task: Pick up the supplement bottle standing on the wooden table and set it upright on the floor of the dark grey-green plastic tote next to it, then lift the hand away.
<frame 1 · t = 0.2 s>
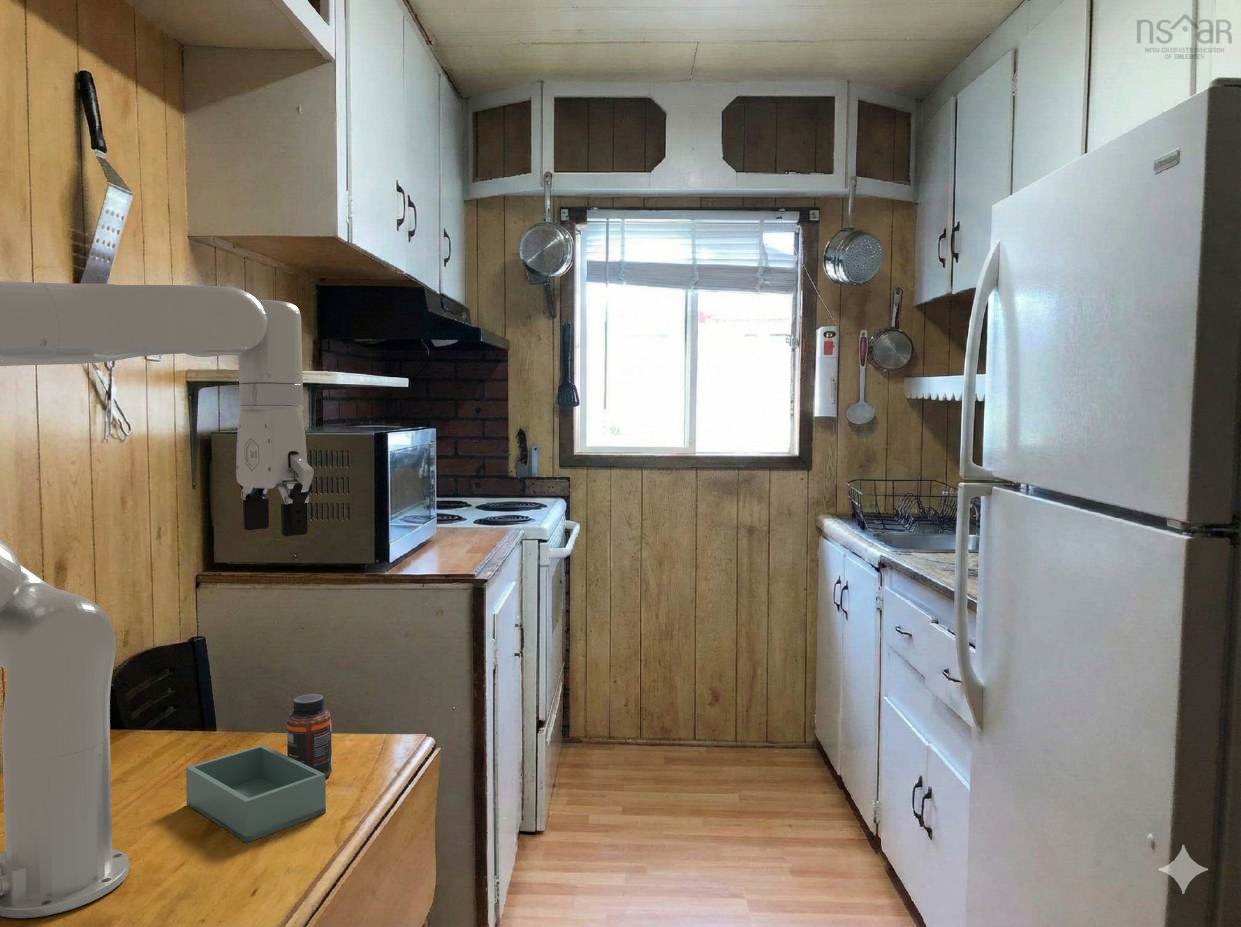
hand: (275, 532, 108), 36 cm above the table, tool pointing down, fingers open, 9 cm apart
tote: (255, 808, 108), on the table
supplement bottle: (310, 778, 119), on the table
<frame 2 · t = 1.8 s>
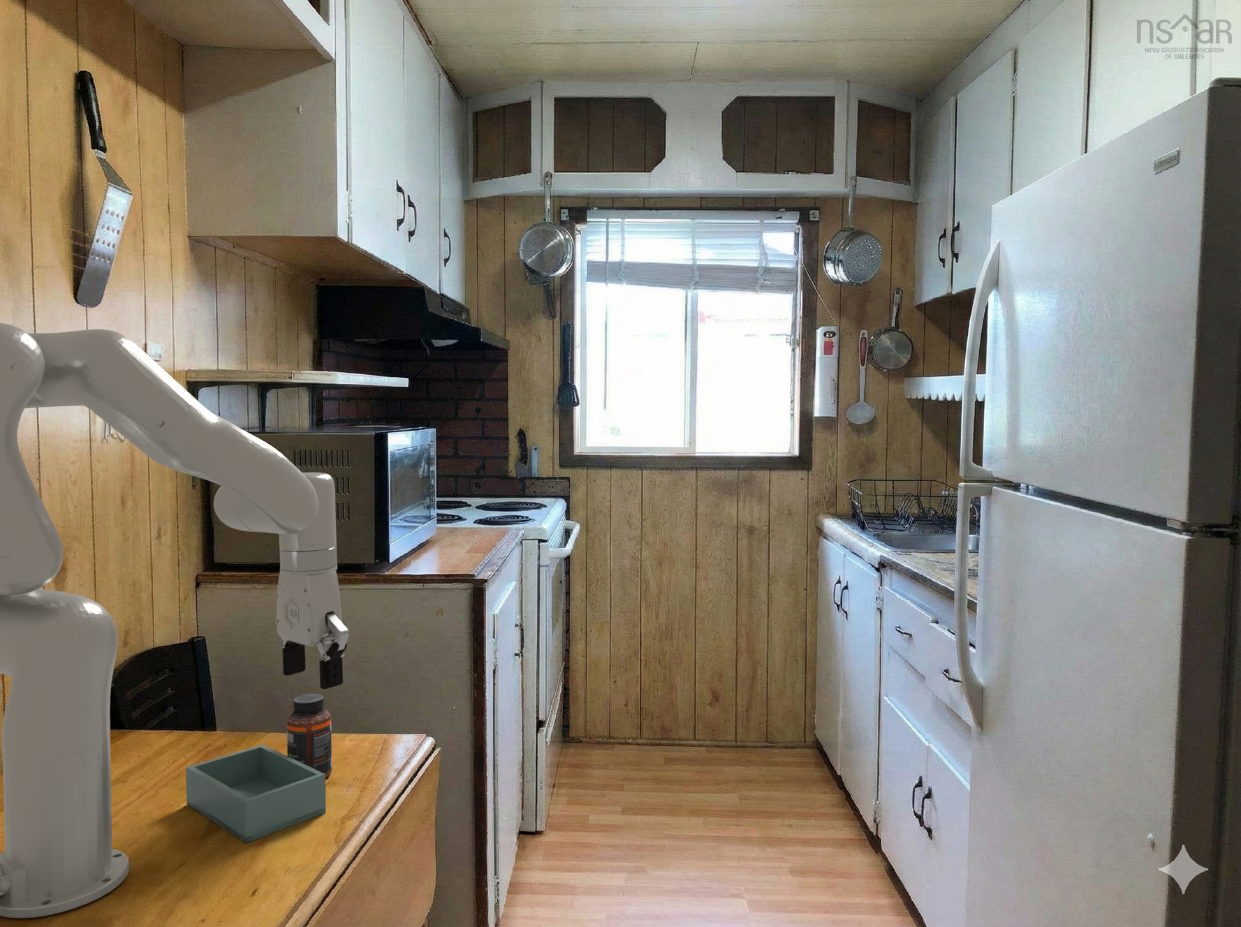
hand: (312, 679, 119), 14 cm above the table, tool pointing down, fingers open, 9 cm apart
nothing on the table moved.
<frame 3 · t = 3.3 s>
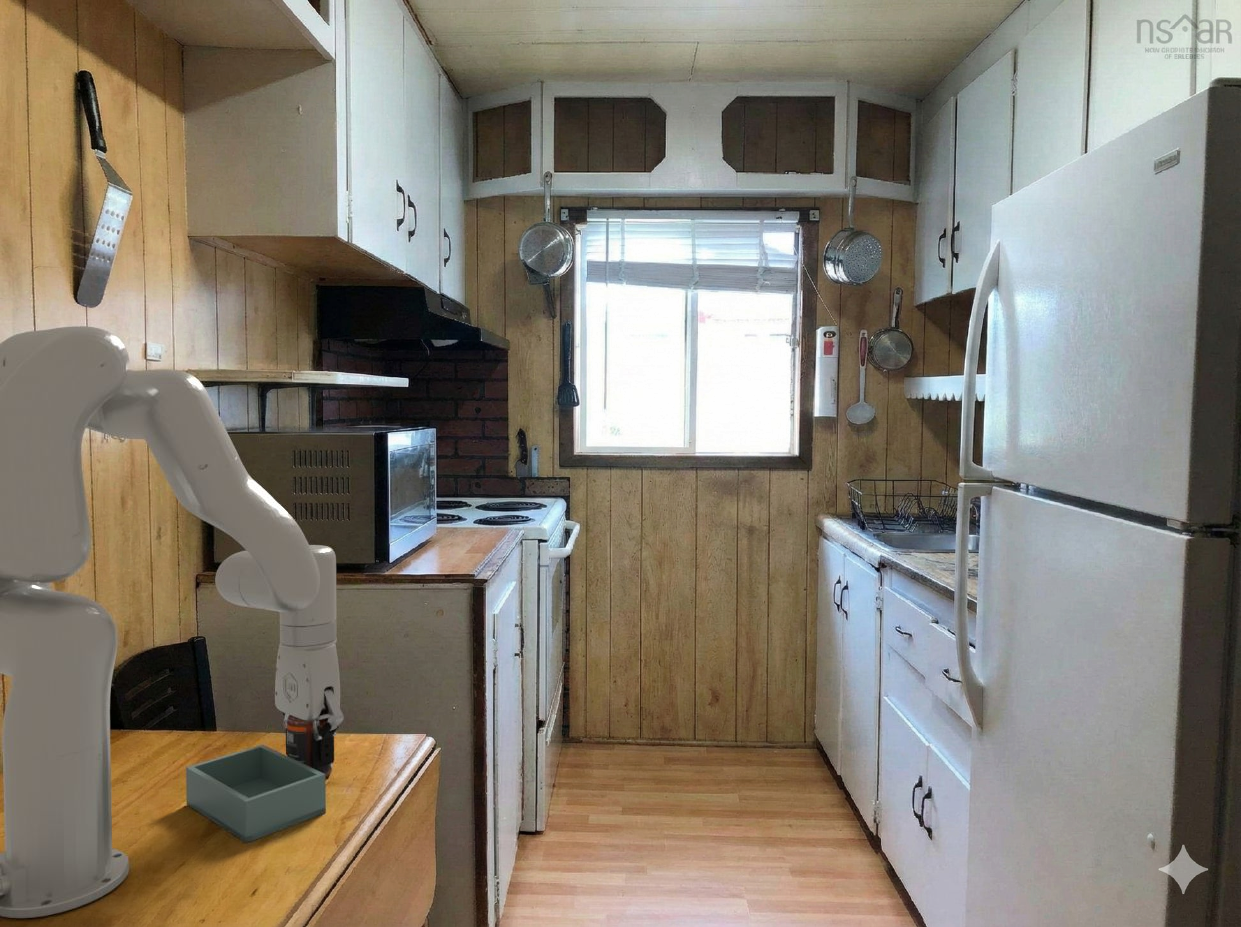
hand: (309, 758, 118), 3 cm above the table, tool pointing down, fingers closed on supplement bottle, 6 cm apart
supplement bottle: (310, 777, 119), on the table, touching gripper
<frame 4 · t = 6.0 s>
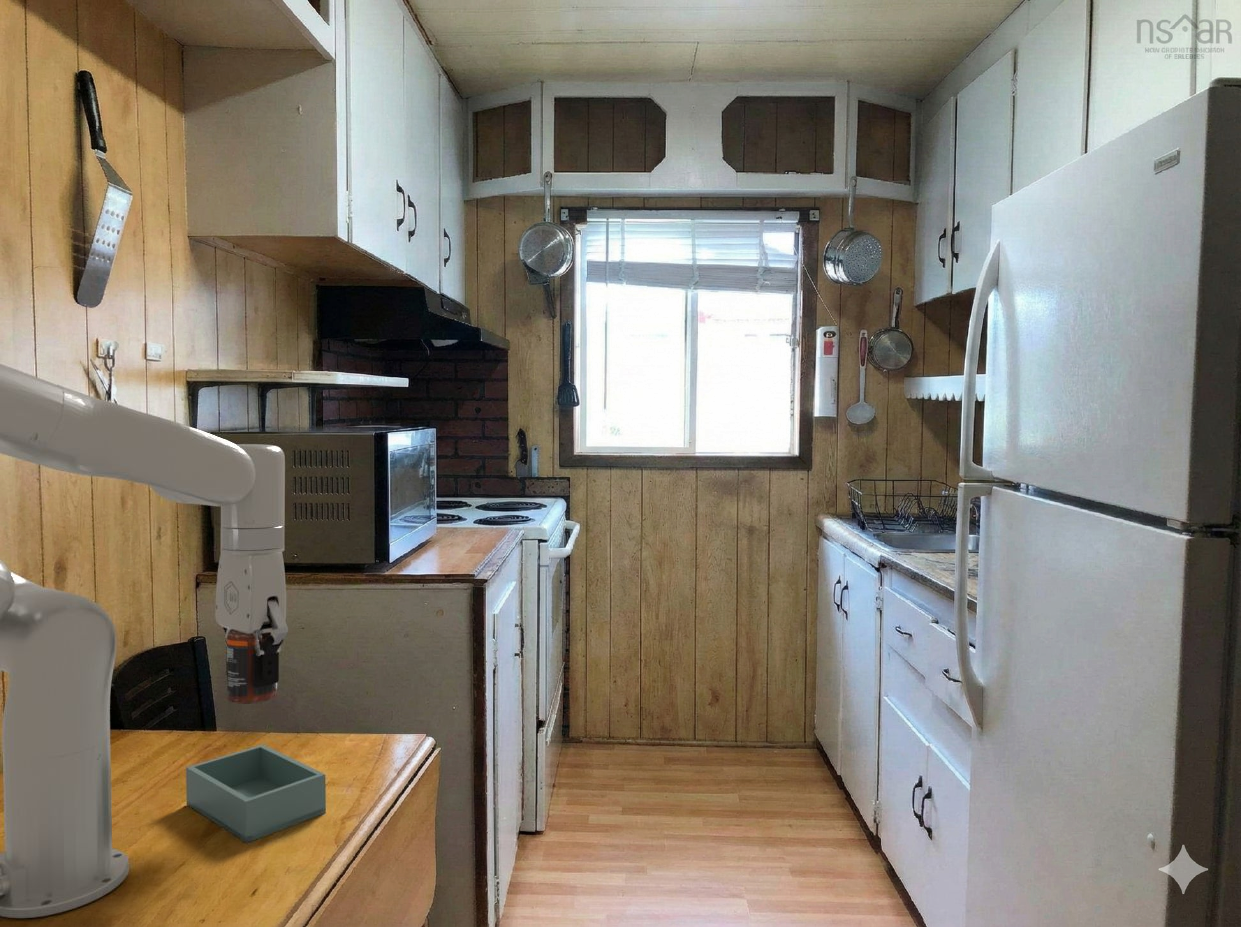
hand: (252, 678, 107), 17 cm above the table, tool pointing down, fingers closed on supplement bottle, 6 cm apart
supplement bottle: (252, 700, 108), point 14 cm above the table, touching gripper
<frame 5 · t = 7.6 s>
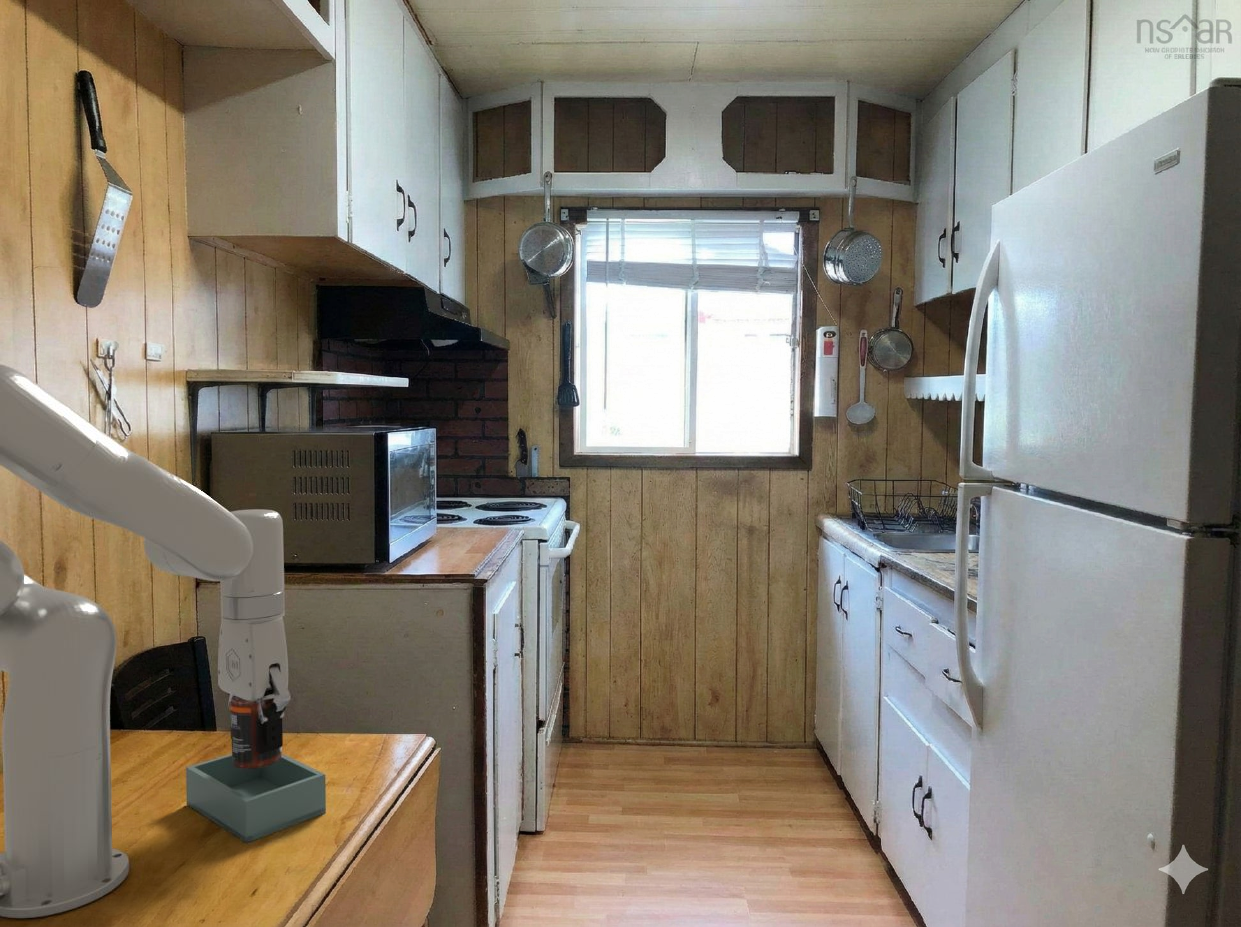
hand: (256, 742, 108), 9 cm above the table, tool pointing down, fingers closed on supplement bottle, 6 cm apart
supplement bottle: (257, 763, 108), point 6 cm above the table, touching gripper
when the fingers open (5 cm above the table, at t = 8.8 s): supplement bottle drops 2 cm, resting on tote.
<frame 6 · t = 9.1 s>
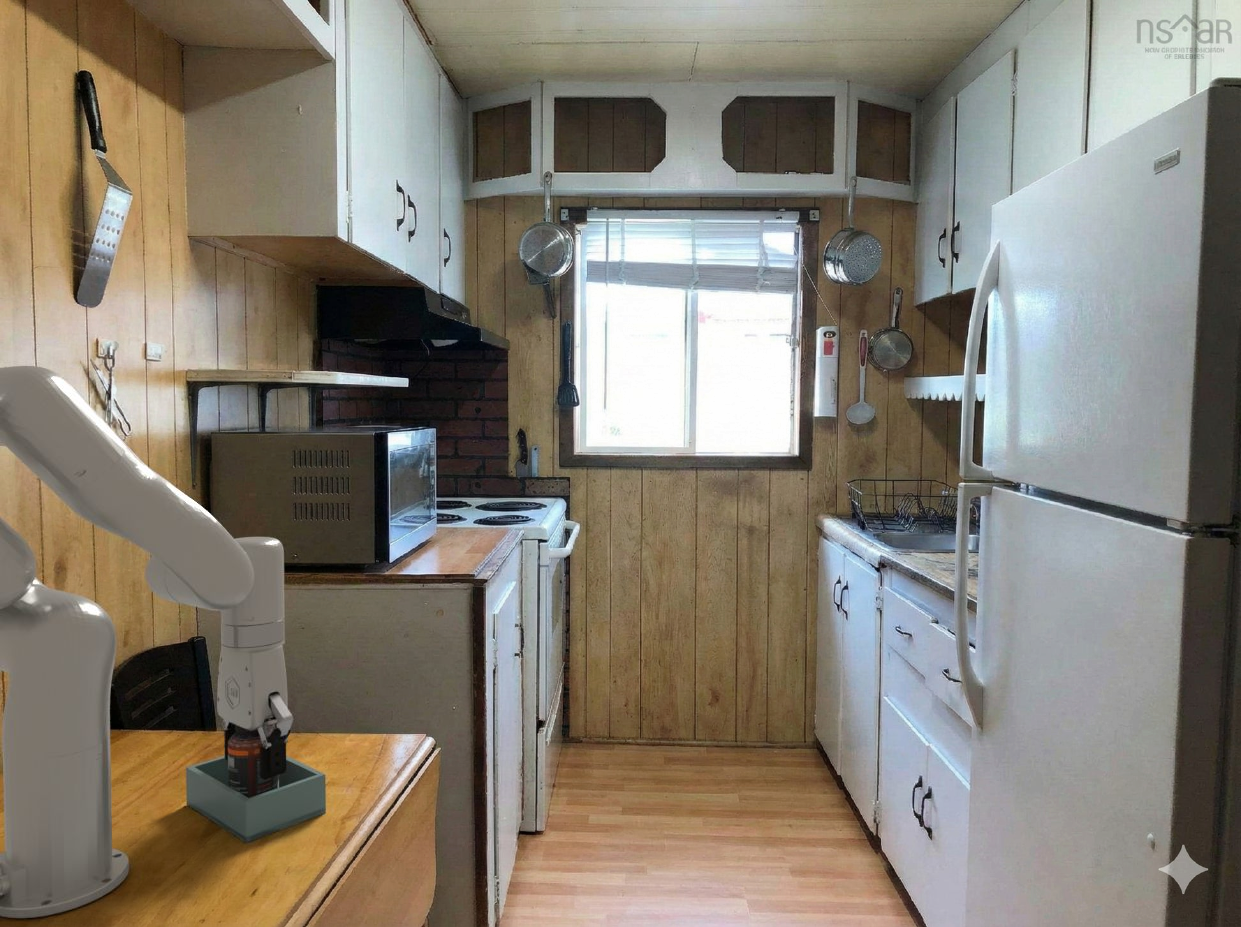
hand: (255, 766, 108), 6 cm above the table, tool pointing down, fingers open, 8 cm apart
supplement bottle: (254, 805, 108), point 1 cm above the table, touching tote
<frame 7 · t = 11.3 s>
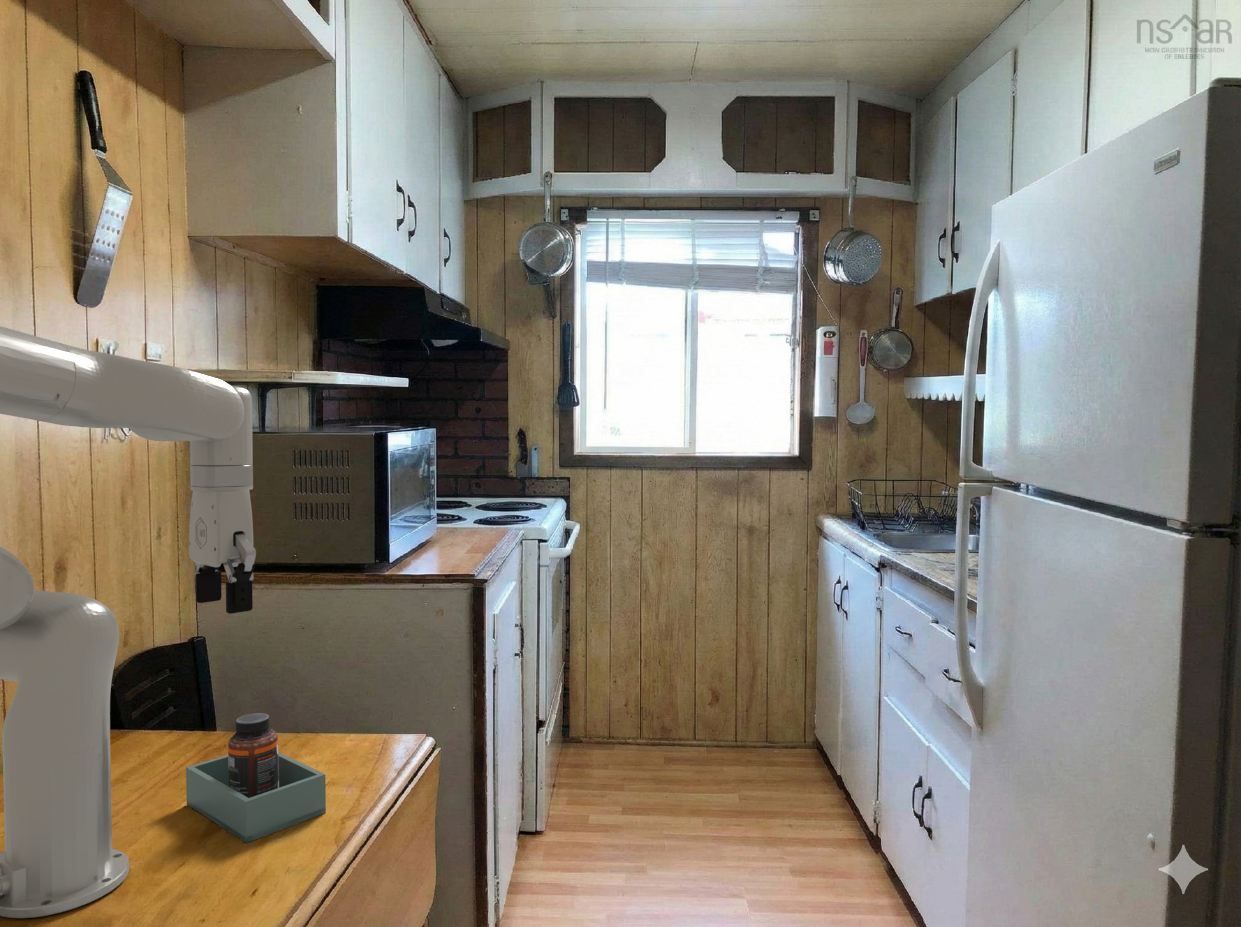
hand: (223, 606, 112), 26 cm above the table, tool pointing down, fingers open, 9 cm apart
nothing on the table moved.
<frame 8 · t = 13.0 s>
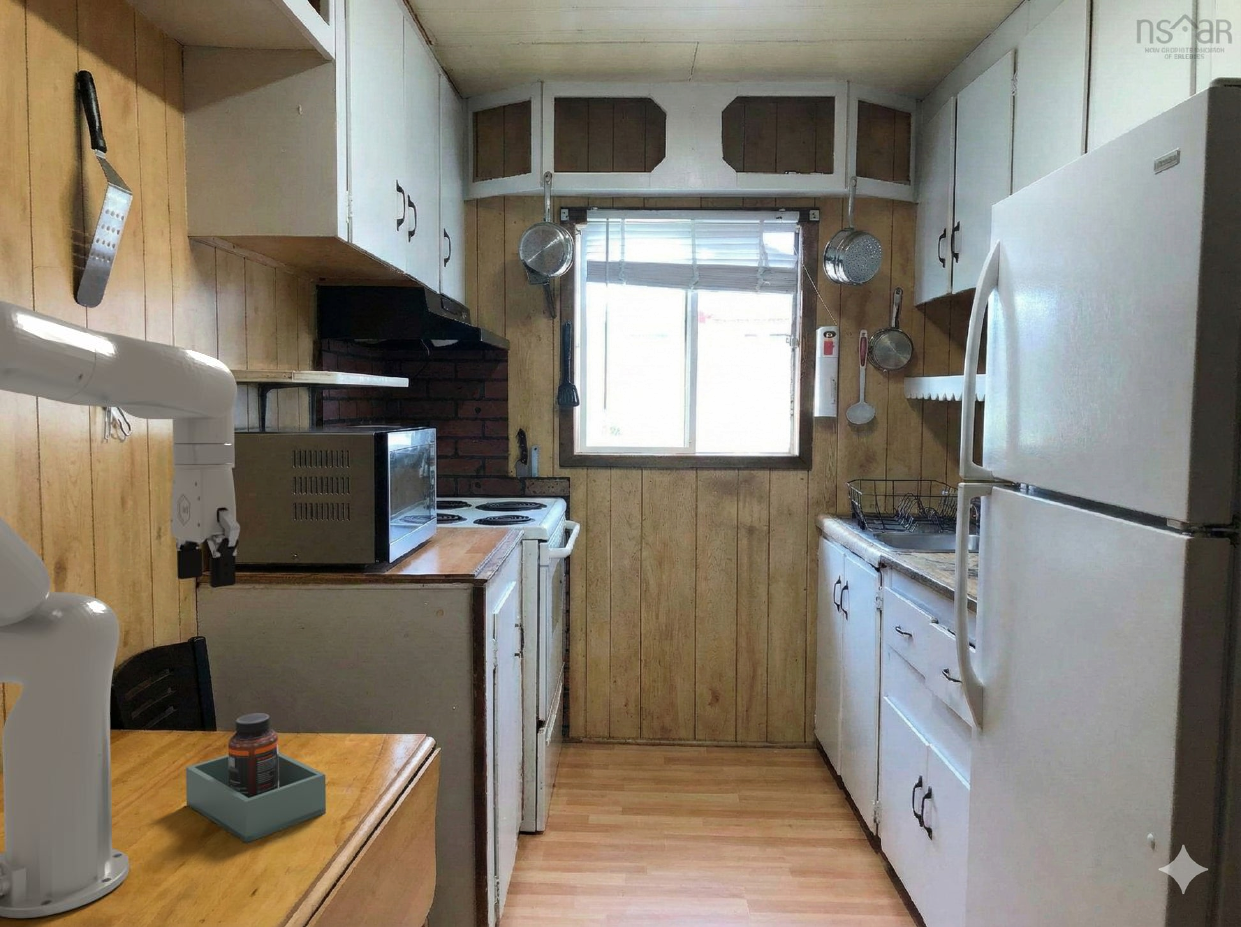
hand: (206, 581, 114), 28 cm above the table, tool pointing down, fingers open, 9 cm apart
nothing on the table moved.
at the end: supplement bottle inside the target area on the tote (0.1 cm from its centre), point 0.5 cm above the tote's base; supplement bottle tilted 0°; the gripper is holding nothing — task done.
